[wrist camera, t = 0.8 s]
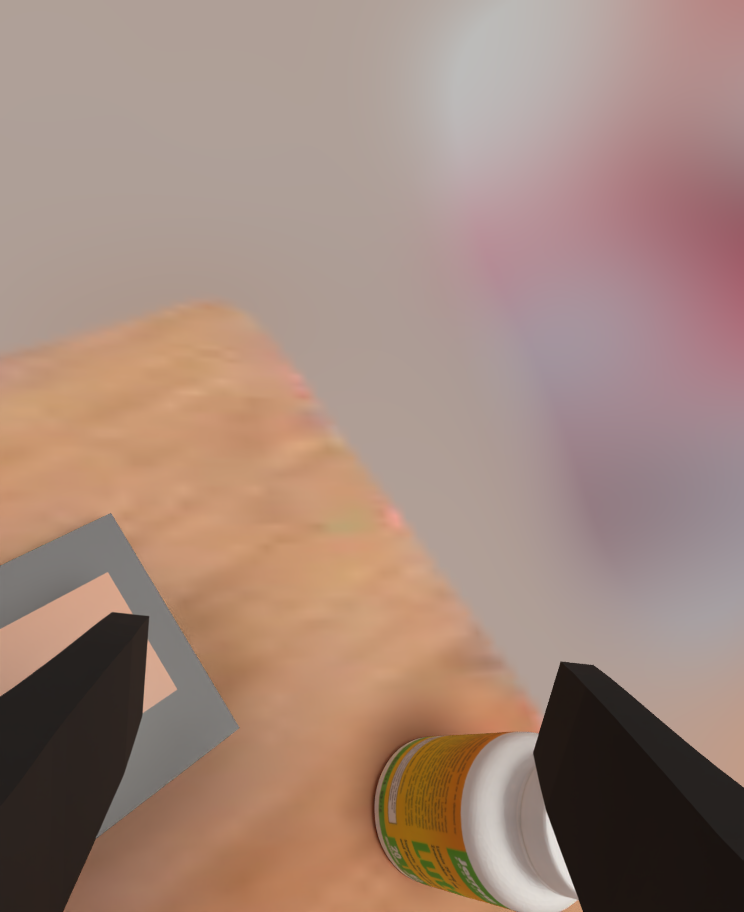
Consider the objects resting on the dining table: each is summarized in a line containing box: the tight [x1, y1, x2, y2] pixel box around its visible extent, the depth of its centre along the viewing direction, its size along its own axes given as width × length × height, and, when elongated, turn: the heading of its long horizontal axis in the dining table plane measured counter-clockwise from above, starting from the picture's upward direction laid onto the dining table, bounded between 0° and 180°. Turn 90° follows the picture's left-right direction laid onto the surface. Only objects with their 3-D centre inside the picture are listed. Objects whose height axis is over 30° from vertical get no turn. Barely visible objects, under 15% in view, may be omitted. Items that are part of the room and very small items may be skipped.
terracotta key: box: [0, 572, 177, 713], centre depth 19 cm, size 4×4×2 cm
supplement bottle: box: [374, 732, 579, 912], centre depth 23 cm, size 5×5×10 cm
